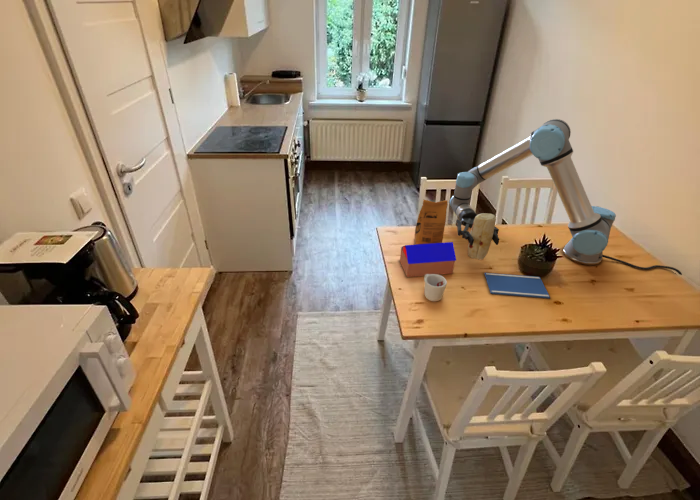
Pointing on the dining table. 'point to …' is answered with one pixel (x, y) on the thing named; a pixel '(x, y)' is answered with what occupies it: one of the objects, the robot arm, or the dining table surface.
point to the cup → (434, 286)
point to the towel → (516, 285)
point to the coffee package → (431, 222)
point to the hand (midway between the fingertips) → (485, 242)
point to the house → (428, 259)
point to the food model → (481, 235)
